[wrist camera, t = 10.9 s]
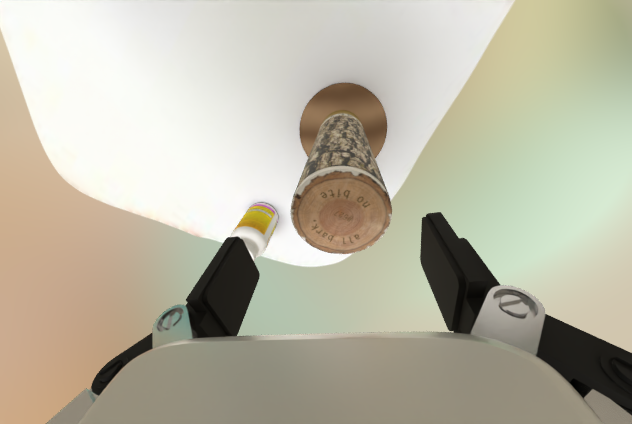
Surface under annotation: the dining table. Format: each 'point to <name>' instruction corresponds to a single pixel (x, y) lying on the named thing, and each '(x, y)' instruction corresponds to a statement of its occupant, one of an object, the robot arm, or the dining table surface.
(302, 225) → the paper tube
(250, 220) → the supplement bottle
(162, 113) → the dining table surface
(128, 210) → the dining table surface
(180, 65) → the dining table surface
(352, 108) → the holder base
